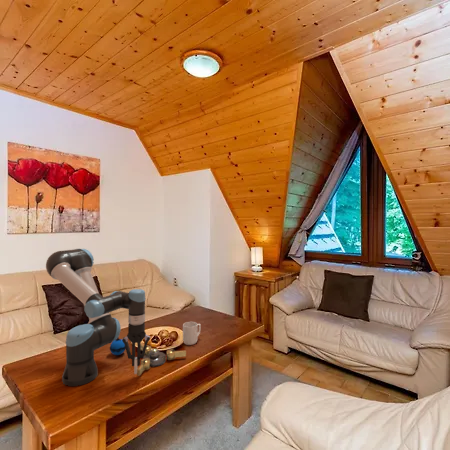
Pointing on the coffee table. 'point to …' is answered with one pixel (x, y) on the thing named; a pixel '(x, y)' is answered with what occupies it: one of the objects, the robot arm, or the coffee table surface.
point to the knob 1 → (146, 349)
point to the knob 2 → (143, 366)
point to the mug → (190, 332)
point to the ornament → (117, 347)
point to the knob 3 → (175, 354)
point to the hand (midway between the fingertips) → (135, 372)
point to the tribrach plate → (157, 361)
